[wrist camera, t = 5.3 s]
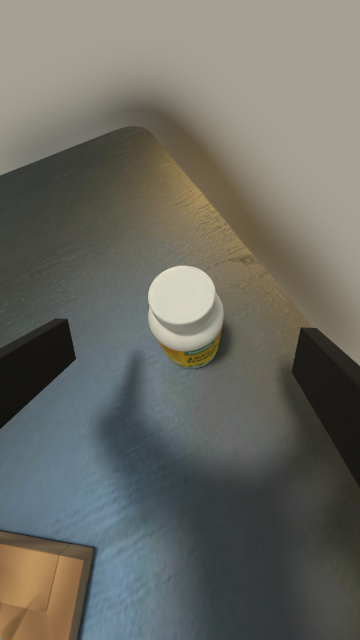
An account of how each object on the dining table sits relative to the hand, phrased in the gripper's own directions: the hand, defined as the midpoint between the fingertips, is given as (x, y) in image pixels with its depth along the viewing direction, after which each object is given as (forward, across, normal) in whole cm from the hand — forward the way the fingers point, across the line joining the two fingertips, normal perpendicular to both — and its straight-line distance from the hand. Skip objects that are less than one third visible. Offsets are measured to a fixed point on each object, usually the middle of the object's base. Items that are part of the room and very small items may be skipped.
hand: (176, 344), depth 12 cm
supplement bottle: (+8, 0, -4) cm, 9 cm away
